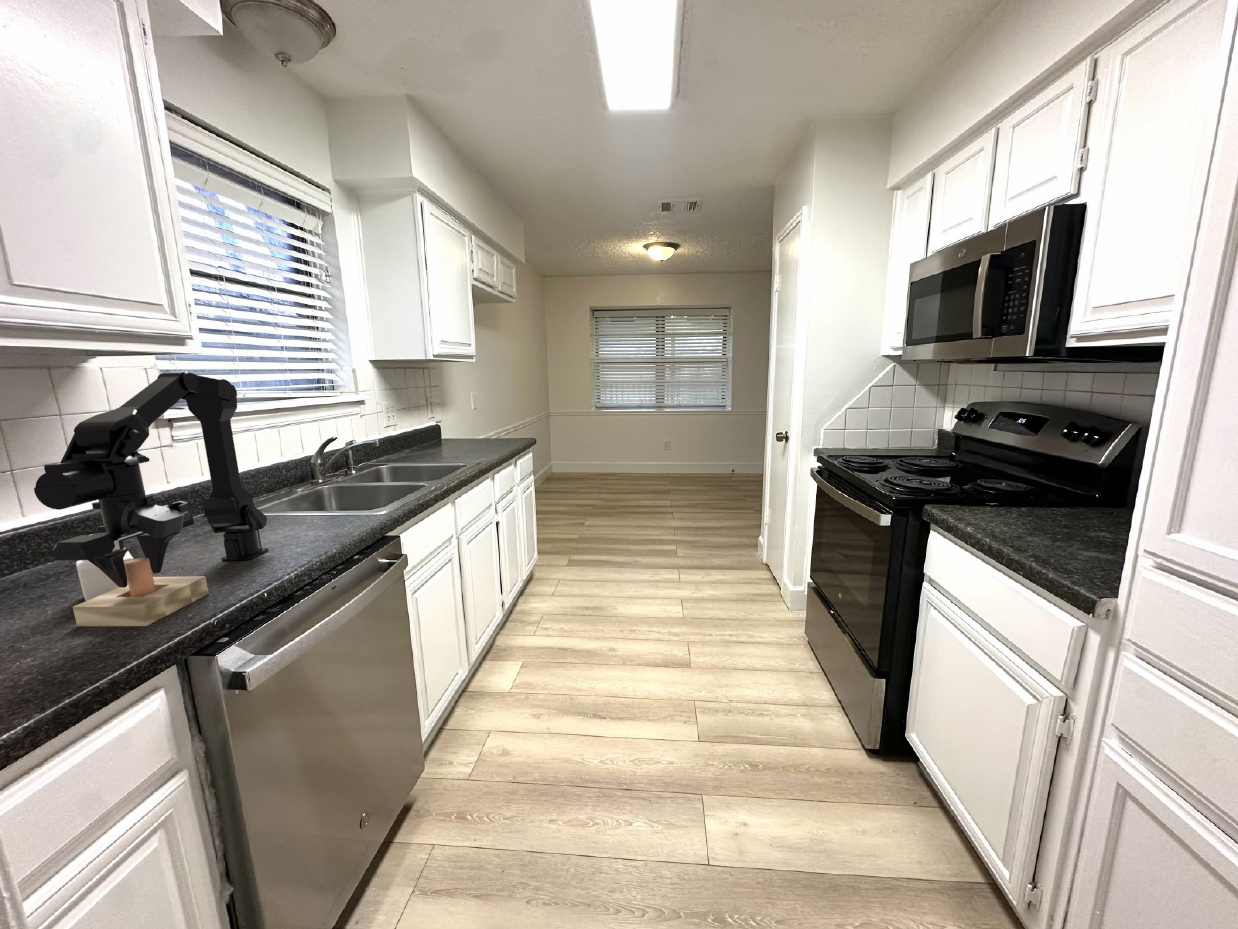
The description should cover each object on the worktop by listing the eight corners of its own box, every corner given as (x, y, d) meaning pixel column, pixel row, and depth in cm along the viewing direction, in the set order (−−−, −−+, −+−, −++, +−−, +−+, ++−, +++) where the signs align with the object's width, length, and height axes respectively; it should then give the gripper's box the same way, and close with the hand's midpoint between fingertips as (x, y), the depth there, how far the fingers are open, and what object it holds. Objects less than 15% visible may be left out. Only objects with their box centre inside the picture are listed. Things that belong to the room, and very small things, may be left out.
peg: (147, 605, 89) (136, 557, 88) (164, 604, 89) (153, 557, 88) (129, 613, 86) (118, 564, 85) (146, 613, 86) (135, 564, 84)
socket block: (147, 594, 94) (144, 577, 93) (208, 593, 93) (205, 576, 93) (77, 626, 82) (72, 606, 81) (146, 626, 82) (142, 606, 81)
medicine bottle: (135, 583, 99) (122, 526, 97) (141, 593, 95) (128, 533, 92) (83, 596, 94) (69, 536, 92) (87, 607, 89) (72, 543, 87)
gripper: (109, 507, 74) (131, 604, 77) (213, 480, 93) (228, 559, 96) (38, 508, 75) (63, 604, 78) (157, 481, 93) (173, 560, 96)
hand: (140, 579), depth 87 cm, fingers open, 6 cm apart
